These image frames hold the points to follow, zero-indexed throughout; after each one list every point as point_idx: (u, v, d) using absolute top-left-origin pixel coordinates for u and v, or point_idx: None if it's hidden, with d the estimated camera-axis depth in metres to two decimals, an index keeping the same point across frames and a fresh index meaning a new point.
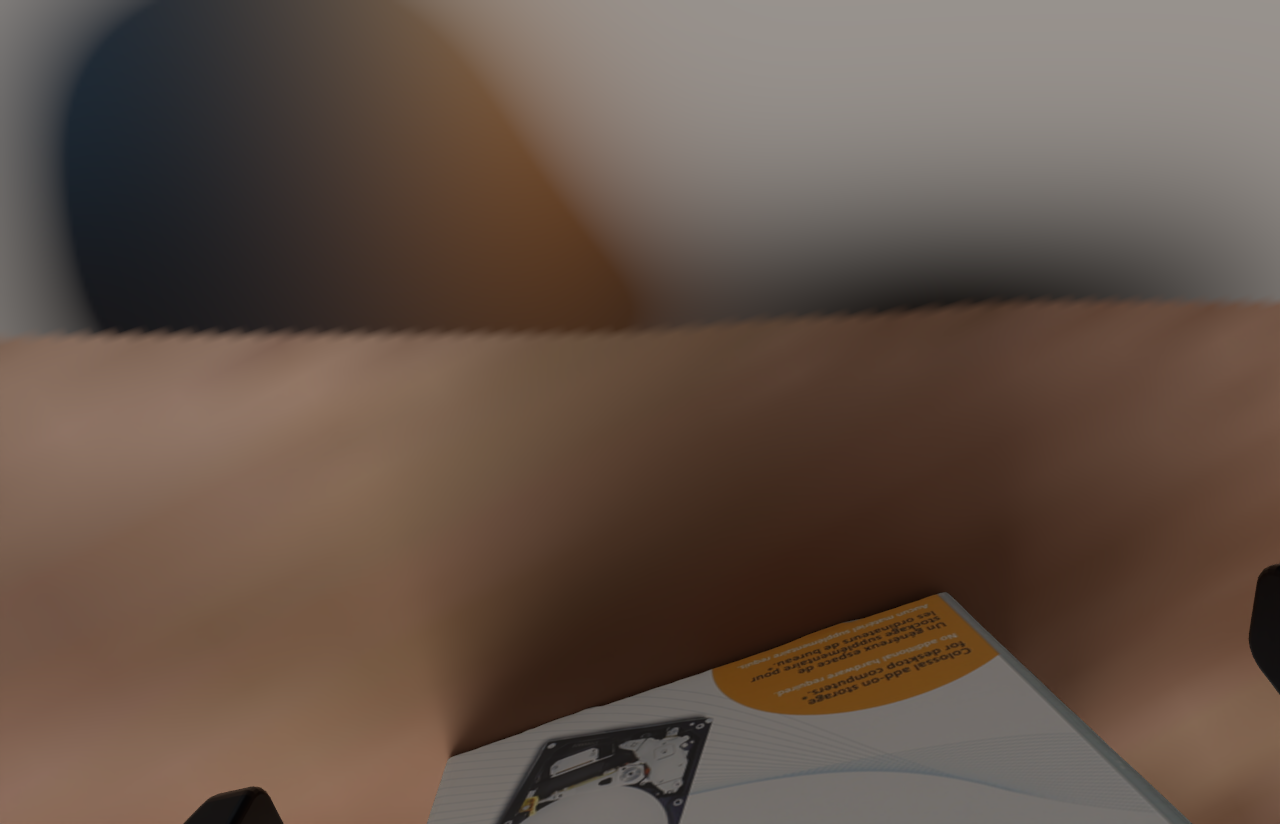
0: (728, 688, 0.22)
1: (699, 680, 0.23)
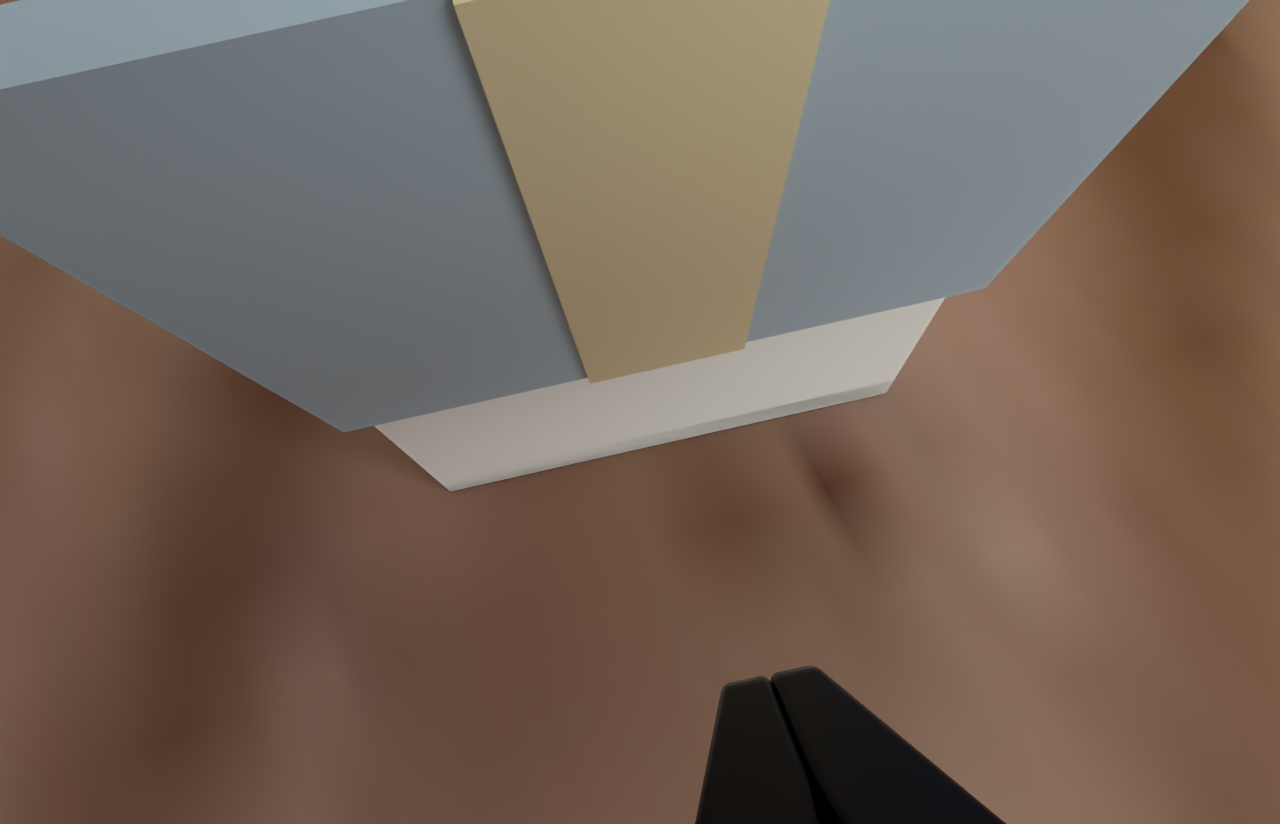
0: None
1: None
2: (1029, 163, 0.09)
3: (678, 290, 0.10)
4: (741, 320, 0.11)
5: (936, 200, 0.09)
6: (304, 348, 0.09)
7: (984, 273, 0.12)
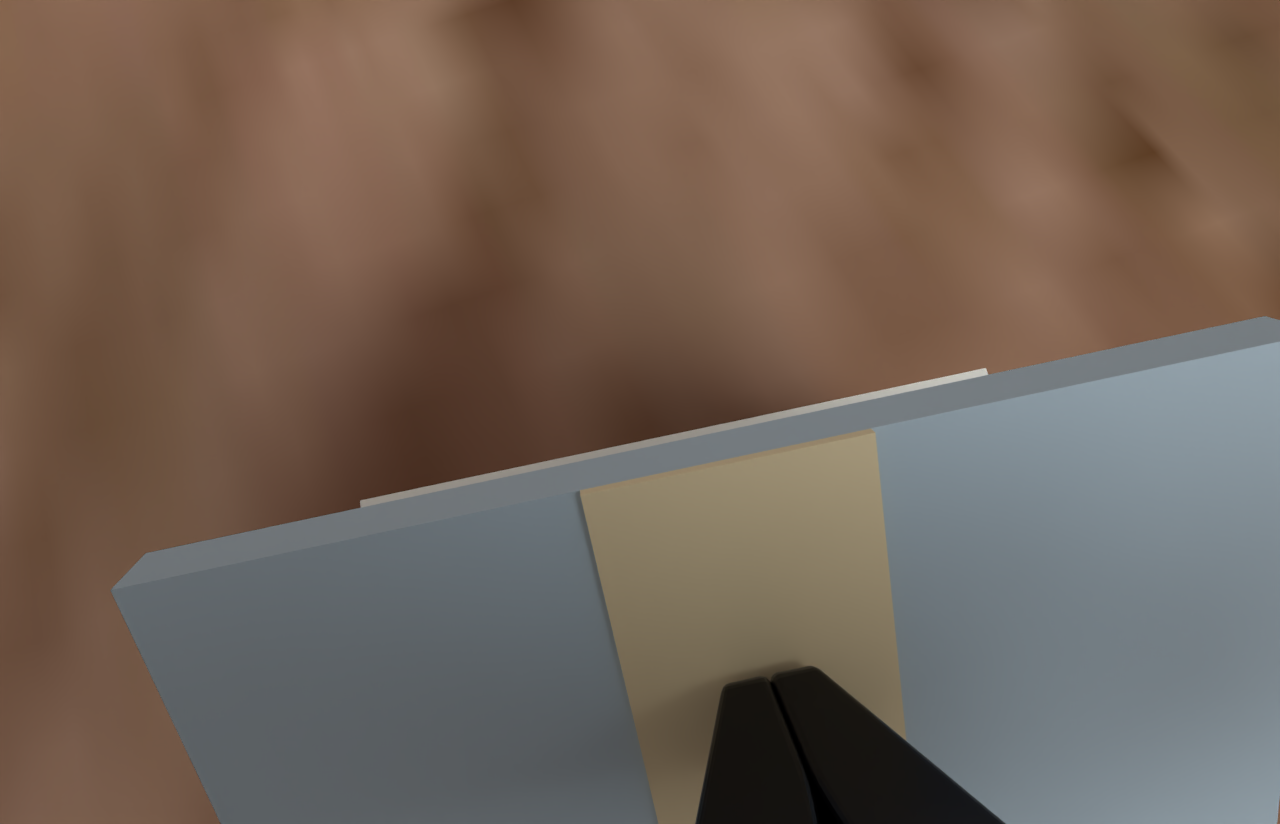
0: None
1: None
2: (1190, 745, 0.08)
3: None
4: None
5: (1101, 795, 0.08)
6: None
7: None
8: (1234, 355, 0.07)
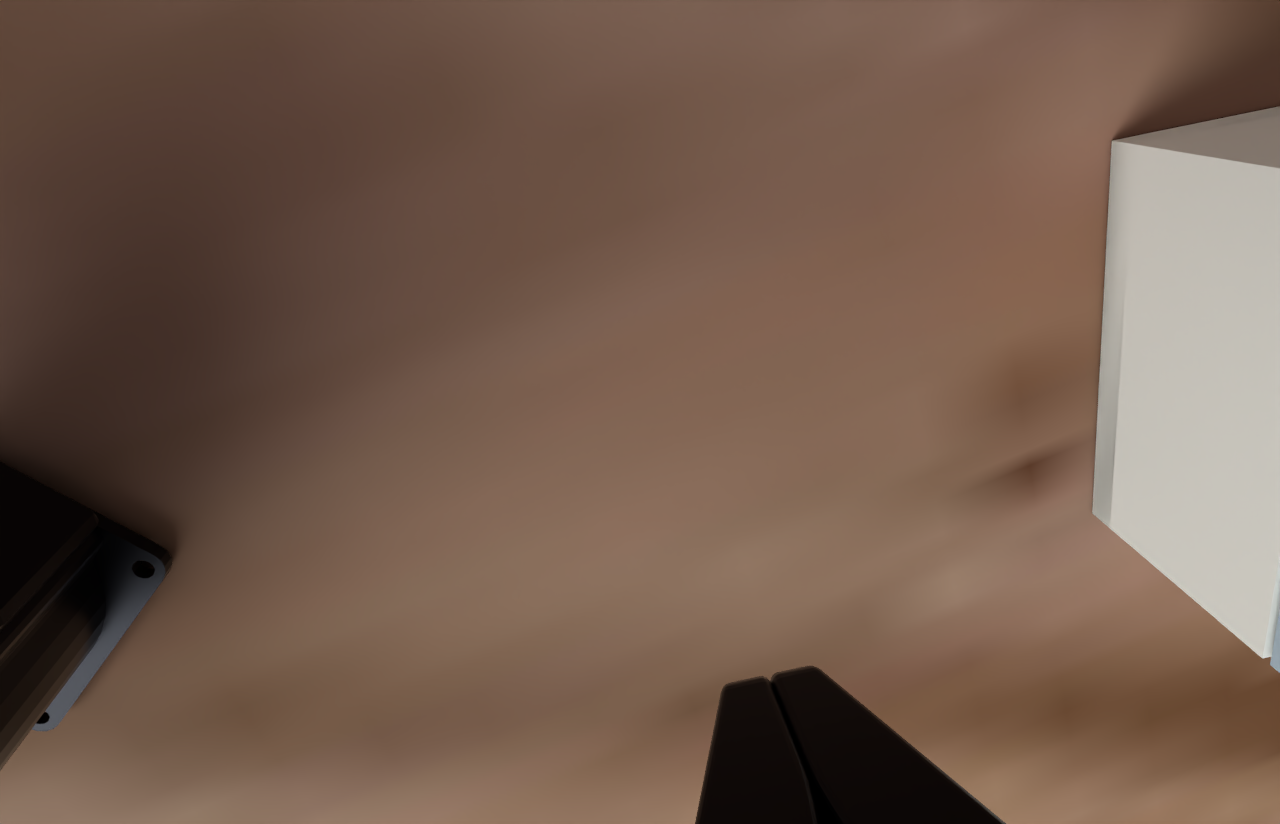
0: None
1: None
2: None
3: None
4: None
5: None
6: None
7: None
8: None
